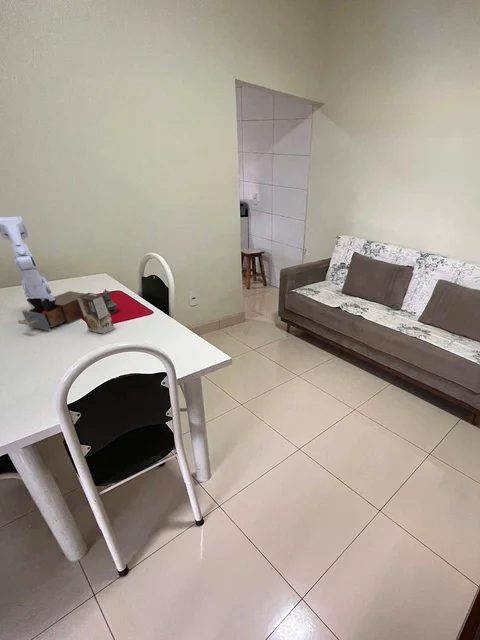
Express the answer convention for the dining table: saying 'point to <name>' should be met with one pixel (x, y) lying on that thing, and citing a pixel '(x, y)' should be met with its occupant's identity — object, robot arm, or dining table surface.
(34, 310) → the drawer
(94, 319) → the coffee box
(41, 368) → the dining table surface
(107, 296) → the grey statue
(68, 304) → the cabinet
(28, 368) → the dining table surface
